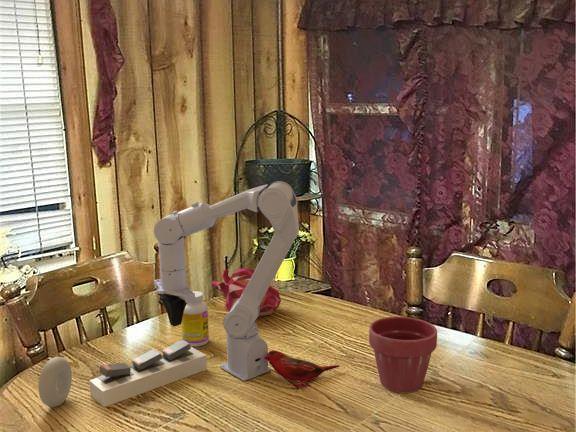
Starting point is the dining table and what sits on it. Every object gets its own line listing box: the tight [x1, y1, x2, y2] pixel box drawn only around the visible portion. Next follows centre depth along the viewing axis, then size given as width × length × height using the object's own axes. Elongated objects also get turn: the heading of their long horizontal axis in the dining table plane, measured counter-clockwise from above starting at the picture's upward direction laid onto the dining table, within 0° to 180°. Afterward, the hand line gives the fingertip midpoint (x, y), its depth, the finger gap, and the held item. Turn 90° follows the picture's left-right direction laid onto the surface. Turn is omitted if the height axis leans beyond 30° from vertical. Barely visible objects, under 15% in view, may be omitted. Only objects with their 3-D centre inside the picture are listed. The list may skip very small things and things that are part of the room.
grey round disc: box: [37, 356, 73, 408], centre depth 127 cm, size 10×4×10 cm, turn 173°
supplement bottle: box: [181, 290, 210, 348], centre depth 156 cm, size 7×7×13 cm
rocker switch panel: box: [88, 347, 208, 408], centre depth 136 cm, size 6×25×4 cm, turn 131°
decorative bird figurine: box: [263, 350, 340, 388], centre depth 137 cm, size 3×18×10 cm
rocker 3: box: [161, 339, 191, 360], centre depth 141 cm, size 3×6×2 cm, turn 131°
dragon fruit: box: [211, 267, 282, 318], centre depth 175 cm, size 14×12×20 cm
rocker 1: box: [98, 362, 131, 377], centre depth 132 cm, size 3×6×2 cm, turn 131°
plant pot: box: [368, 316, 438, 394], centre depth 133 cm, size 14×14×13 cm
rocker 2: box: [131, 348, 162, 370], centre depth 137 cm, size 3×6×2 cm, turn 131°
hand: (176, 324), depth 143 cm, fingers closed
